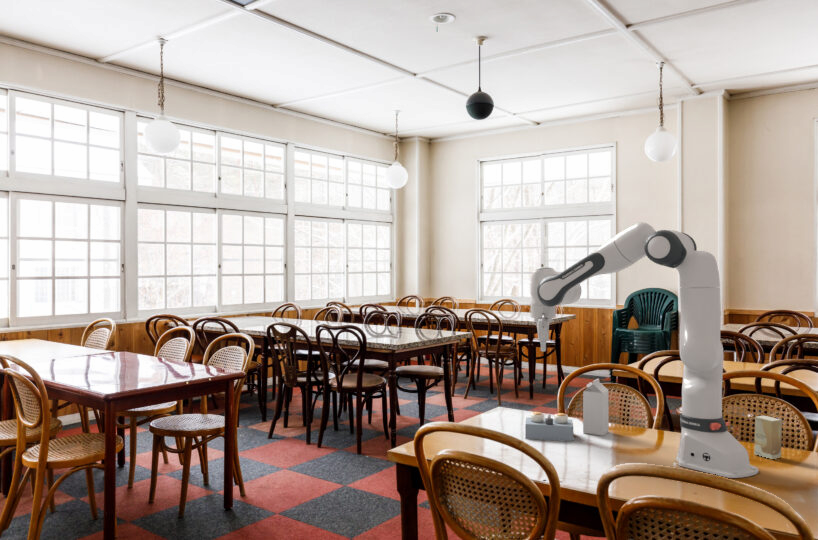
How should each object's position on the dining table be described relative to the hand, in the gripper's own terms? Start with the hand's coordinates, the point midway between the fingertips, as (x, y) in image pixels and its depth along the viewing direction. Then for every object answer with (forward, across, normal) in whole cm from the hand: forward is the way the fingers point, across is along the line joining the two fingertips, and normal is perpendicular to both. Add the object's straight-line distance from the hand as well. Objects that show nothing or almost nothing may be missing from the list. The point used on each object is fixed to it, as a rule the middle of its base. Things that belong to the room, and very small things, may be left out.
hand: (543, 351), depth 228 cm
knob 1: (+29, -6, +2) cm, 30 cm away
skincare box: (+30, -18, -68) cm, 76 cm away
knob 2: (+29, -6, -6) cm, 30 cm away
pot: (+24, -10, -2) cm, 26 cm away
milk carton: (+29, +2, -18) cm, 35 cm away
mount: (+29, -6, -2) cm, 30 cm away
